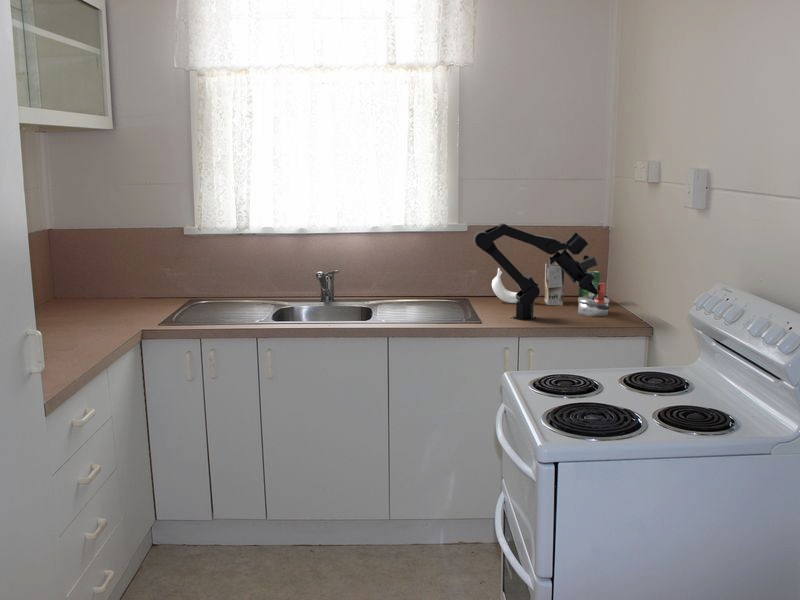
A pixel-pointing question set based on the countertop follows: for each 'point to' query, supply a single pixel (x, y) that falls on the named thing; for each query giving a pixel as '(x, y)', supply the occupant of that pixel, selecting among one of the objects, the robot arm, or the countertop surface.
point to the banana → (502, 290)
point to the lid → (594, 299)
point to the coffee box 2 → (595, 282)
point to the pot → (593, 309)
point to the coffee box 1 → (554, 284)
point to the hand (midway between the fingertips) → (597, 294)
